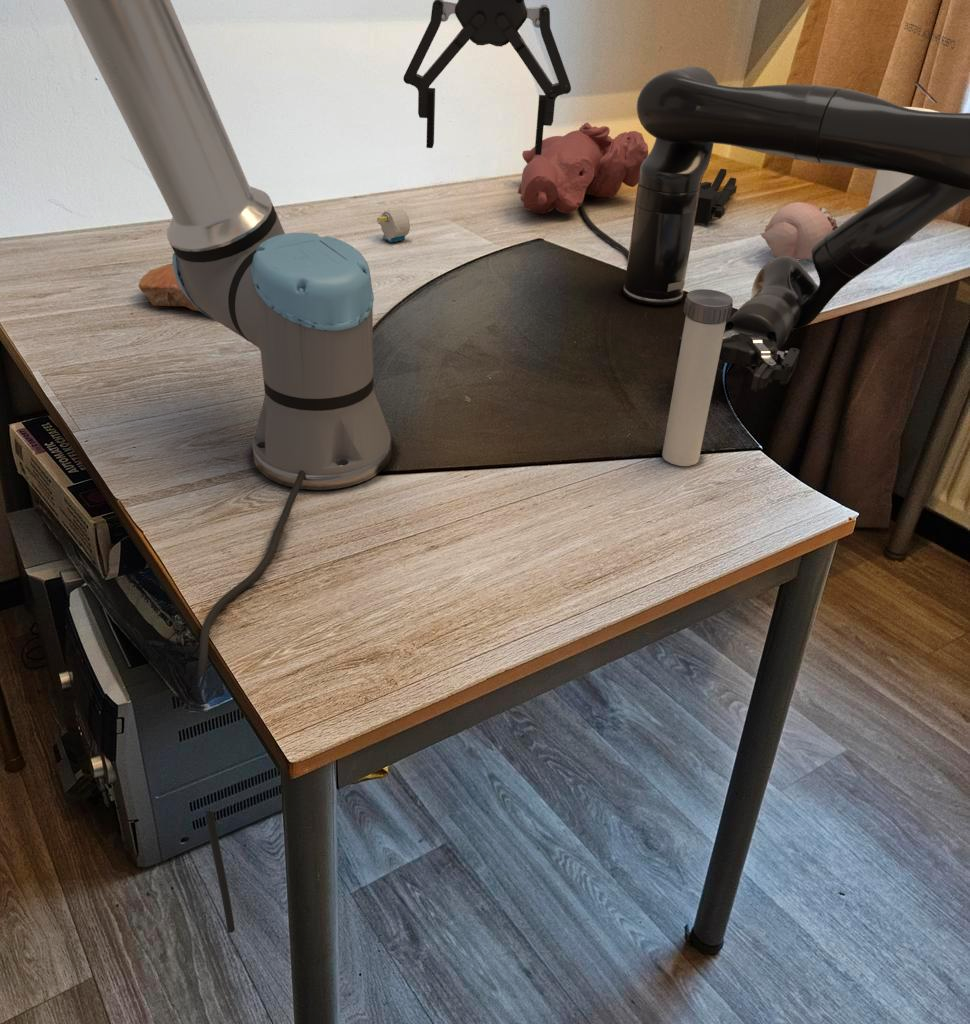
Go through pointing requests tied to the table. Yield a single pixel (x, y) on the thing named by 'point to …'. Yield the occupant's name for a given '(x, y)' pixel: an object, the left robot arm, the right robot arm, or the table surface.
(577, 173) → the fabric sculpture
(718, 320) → the lid
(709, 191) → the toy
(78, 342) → the table surface
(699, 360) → the beige cylindrical rod
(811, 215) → the toy
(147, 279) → the ceramic shard
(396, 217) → the electric motor
